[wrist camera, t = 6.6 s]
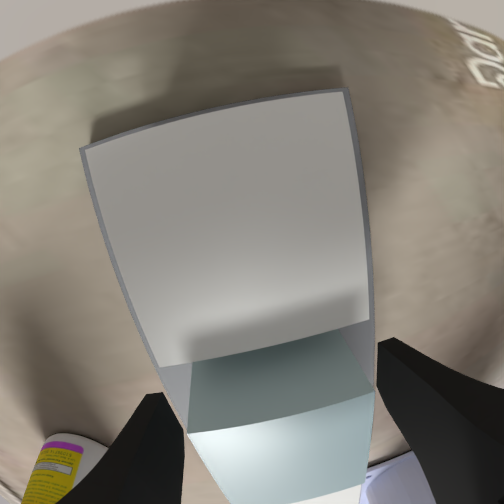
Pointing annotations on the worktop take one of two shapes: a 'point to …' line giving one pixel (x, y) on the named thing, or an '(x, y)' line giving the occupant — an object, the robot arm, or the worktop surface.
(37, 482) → the supplement bottle
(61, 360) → the worktop surface
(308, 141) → the board
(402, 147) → the worktop surface
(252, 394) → the block
